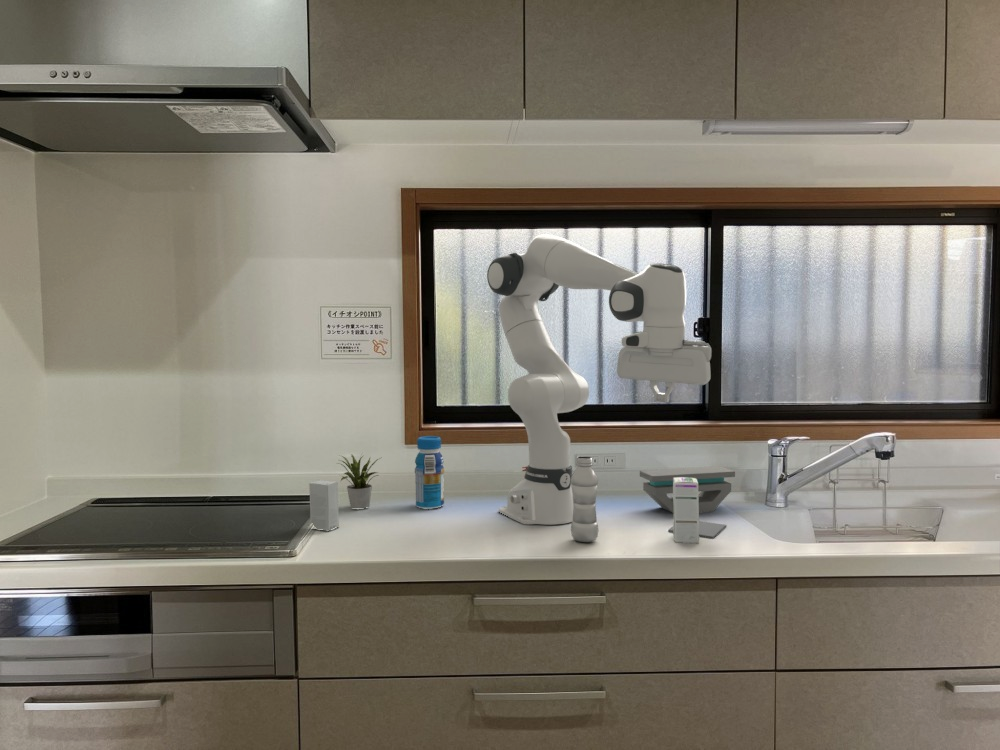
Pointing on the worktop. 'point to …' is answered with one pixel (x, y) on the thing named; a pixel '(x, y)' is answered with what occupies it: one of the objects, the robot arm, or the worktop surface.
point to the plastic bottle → (584, 501)
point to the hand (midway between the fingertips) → (661, 401)
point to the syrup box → (685, 510)
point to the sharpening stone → (706, 477)
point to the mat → (707, 529)
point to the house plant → (358, 483)
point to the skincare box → (324, 504)
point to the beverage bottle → (429, 473)
